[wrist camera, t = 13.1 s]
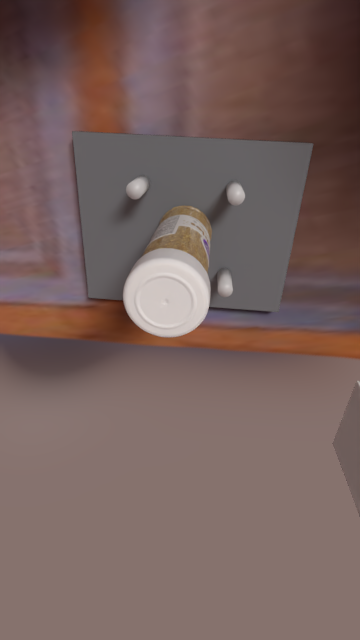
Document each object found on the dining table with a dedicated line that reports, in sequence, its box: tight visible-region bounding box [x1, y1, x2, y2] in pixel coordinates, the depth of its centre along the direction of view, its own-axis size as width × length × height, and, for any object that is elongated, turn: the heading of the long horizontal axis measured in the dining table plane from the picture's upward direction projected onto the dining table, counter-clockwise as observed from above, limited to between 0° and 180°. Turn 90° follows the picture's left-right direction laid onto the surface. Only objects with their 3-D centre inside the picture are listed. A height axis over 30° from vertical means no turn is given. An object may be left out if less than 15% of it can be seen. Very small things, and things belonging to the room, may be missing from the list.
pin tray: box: [72, 131, 313, 312], centre depth 28 cm, size 18×14×5 cm
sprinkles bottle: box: [123, 205, 212, 337], centre depth 23 cm, size 5×5×14 cm
